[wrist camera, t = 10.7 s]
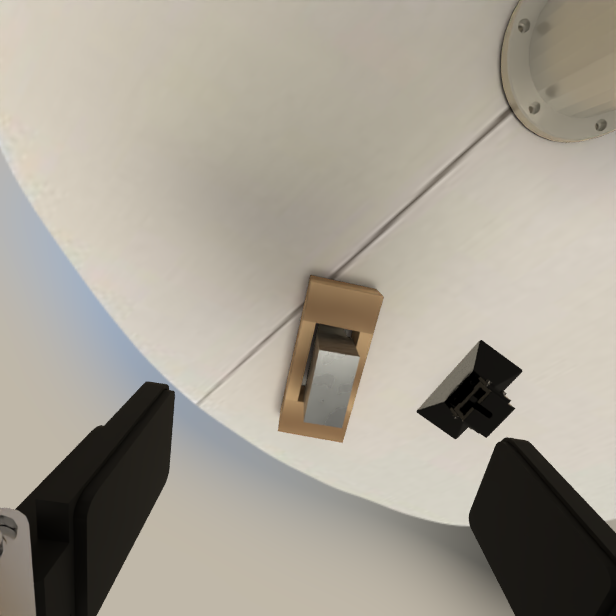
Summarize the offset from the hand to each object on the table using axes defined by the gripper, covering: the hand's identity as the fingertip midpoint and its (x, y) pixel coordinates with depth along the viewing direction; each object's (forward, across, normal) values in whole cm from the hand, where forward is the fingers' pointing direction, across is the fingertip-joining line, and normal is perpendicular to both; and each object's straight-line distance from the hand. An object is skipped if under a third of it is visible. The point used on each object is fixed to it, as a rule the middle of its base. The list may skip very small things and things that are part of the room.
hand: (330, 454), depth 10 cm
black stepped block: (+22, -17, +8) cm, 29 cm away
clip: (+22, -2, +6) cm, 22 cm away
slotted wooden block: (+22, -2, +6) cm, 22 cm away
